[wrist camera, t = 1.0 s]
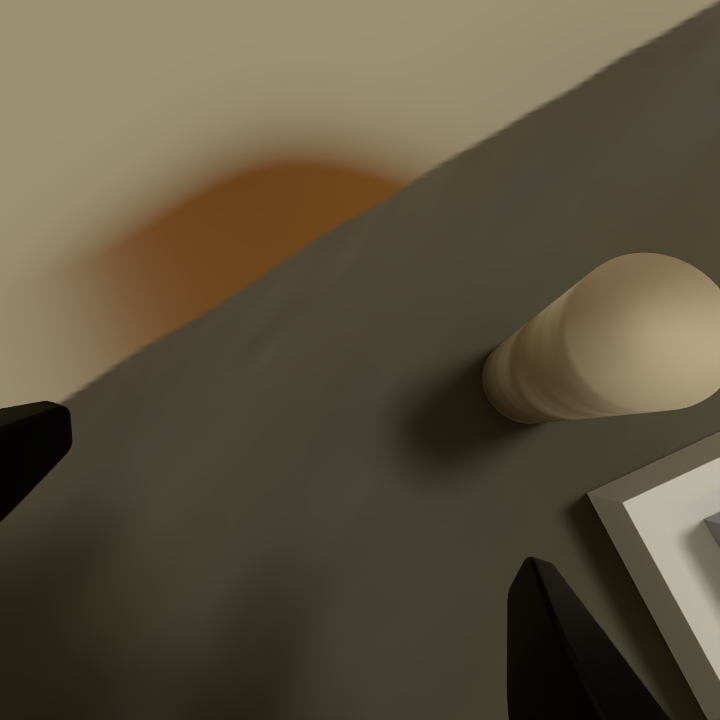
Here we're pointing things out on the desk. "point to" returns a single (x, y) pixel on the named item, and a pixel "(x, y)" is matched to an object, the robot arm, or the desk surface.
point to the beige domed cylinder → (613, 346)
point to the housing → (675, 554)
